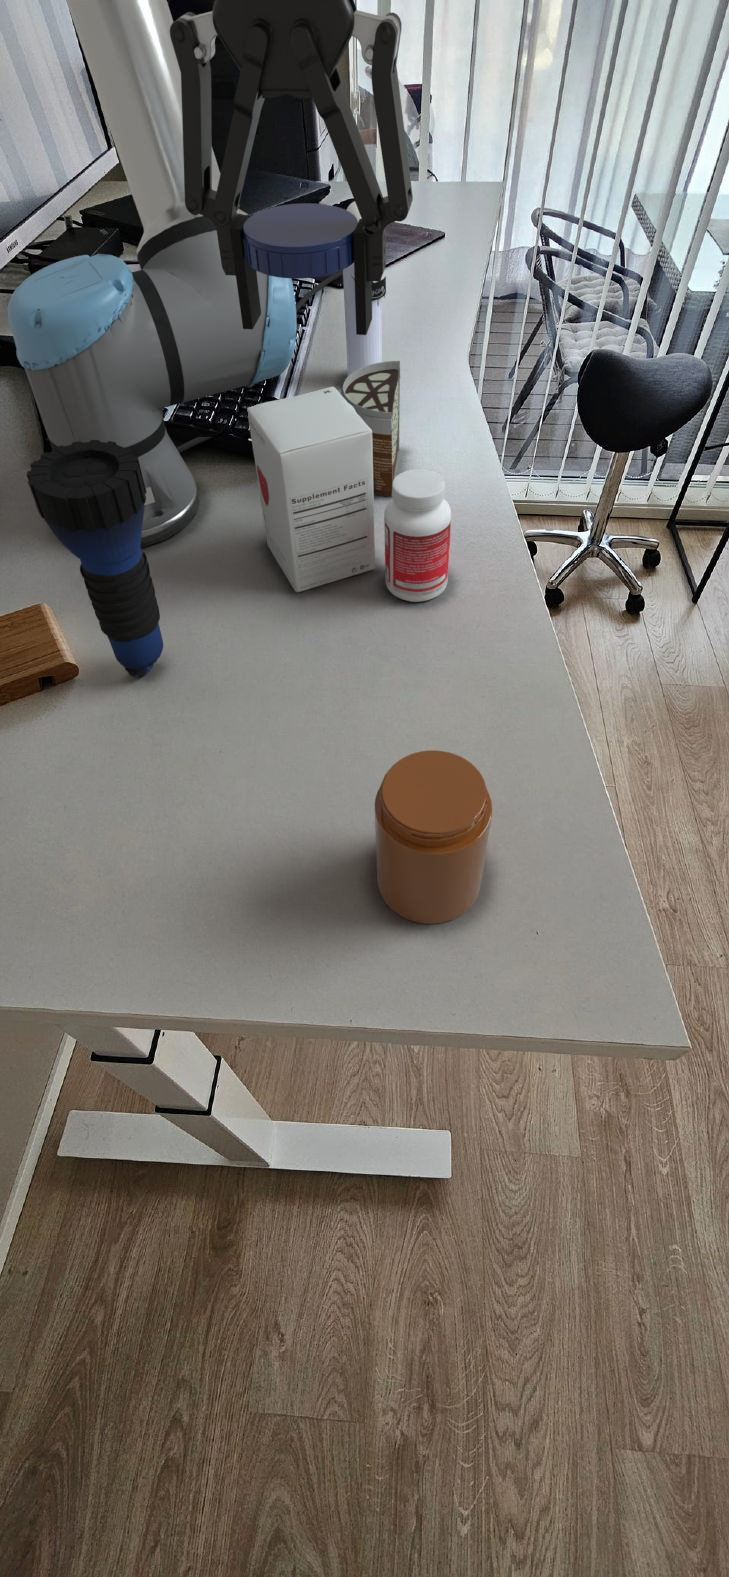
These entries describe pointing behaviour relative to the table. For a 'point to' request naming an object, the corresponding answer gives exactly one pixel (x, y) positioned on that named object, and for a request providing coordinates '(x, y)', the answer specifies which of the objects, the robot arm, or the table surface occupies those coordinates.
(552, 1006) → the table surface
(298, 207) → the jar lid
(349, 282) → the perfume bottle
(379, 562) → the table surface
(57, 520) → the flashlight
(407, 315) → the table surface
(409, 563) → the pill bottle
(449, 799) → the jar
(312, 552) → the rectangular carton
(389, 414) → the food container
